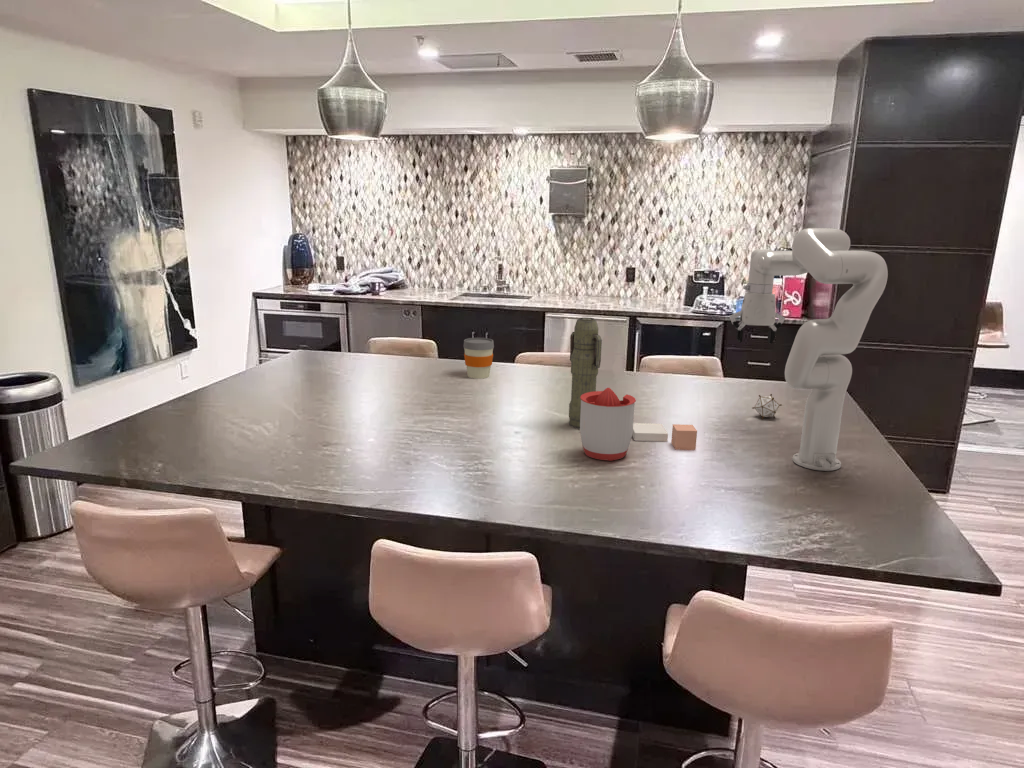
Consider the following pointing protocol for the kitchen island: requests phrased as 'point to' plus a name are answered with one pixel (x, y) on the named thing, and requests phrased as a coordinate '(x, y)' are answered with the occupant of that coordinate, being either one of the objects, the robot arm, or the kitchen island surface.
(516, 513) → the kitchen island surface
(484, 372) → the reusable coffee cup
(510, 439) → the kitchen island surface
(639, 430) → the block
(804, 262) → the robot arm
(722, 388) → the kitchen island surface
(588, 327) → the thermos
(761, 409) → the game die
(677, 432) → the cube
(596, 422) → the citrus juicer
